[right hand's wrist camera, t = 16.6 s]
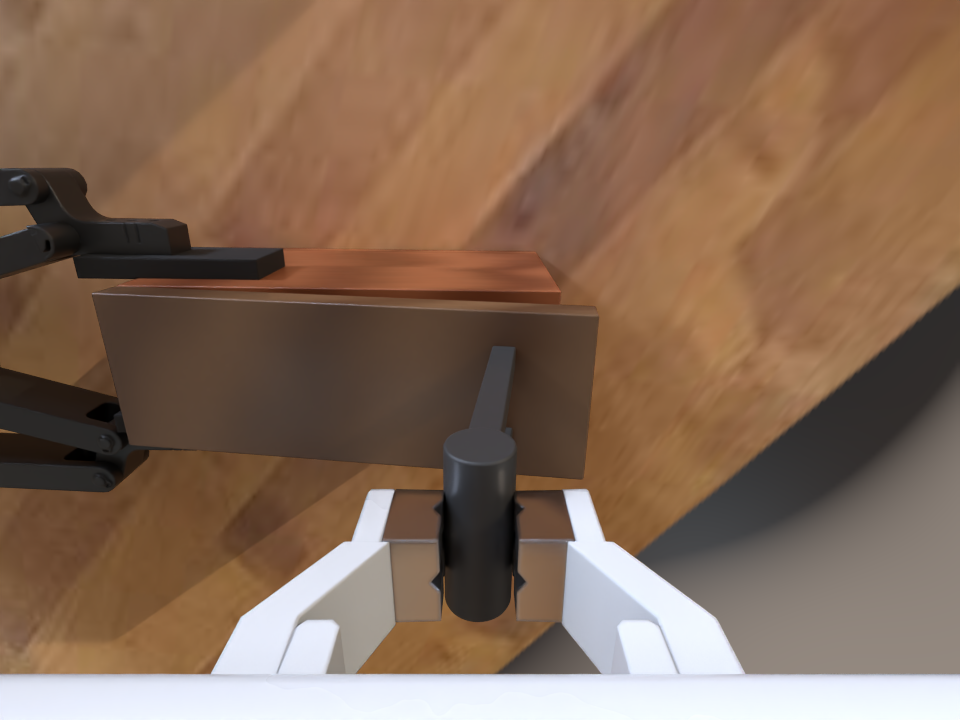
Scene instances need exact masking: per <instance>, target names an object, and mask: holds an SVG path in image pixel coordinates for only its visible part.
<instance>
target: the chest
mask: <svg viewBox="0 0 960 720" xmlns="http://www.w3.org/2000/svg"><path fill="white" fill-rule="evenodd" d="M231 248H232V247H231ZM283 251H284V260H285V267H283V268H281V269H279V270H277V271H275V272H273V273H272V274H270V275H268V276H266V277H264V278H262V279H260V280H218V279H143V278H138V279H135V280H132V281H129V282H126V283H123V284H120V285H117V286H125V287H149V288H172V289H196V290H220V291H244V292H268V293H292V294H315V295H339V296H363V297H387V298H411V299H435V300H458V301H482V302H506V303H530V304H554V305H560V301H561V291H560V289H559V288H558V286H557V285H556V283H555V281H554V280H553V278H552V277H551V275H550V274H549V272H548V270H547V269H546V267H545V266H544V264H543V263H542V261H541V259H540V258H539V256H538V255H537V253H536V252H529V251H455V250H381V249H306V248H283Z"/></svg>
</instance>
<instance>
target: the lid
mask: <svg viewBox="0 0 960 720" xmlns="http://www.w3.org/2000/svg"><path fill="white" fill-rule="evenodd" d="M92 297H93V301H94V305H95V309H96V313H97V317H98V321H99V325H100V329H101V333H102V337H103V341H104V345H105V349H106V353H107V357H108V361H109V365H110V369H111V373H112V377H113V380H114V384H115V388H116V392H117V396H118V400H119V404H120V408H121V412H122V416H123V420H124V424H125V428H126V432H127V436H128V440H129V444H130V445H137V446H150V447H163V448H176V449H189V450H202V451H216V452H229V453H242V454H255V455H268V456H281V457H294V458H307V459H320V460H333V461H347V462H360V463H373V464H386V465H399V466H412V467H425V468H438V469H443V483H444V508H445V524H444V535H445V547H446V570H445V600H446V603H447V605H448V607H449V608H450V610H451V611H452V612H453V613H454V614H455V615H457V616H458V617H460V618H462V619H464V620H467V621H472V622H484V621H489V620H492V619H494V618H496V617H498V616H500V615H501V614H502V613H503V612H504V611H505V610H506V608H507V607H508V605H509V603H510V599H511V581H512V539H513V533H514V528H513V505H514V492H515V489H516V474H517V475H530V476H543V477H556V478H569V479H583V478H584V469H585V458H586V448H587V437H588V427H589V417H590V406H591V396H592V386H593V375H594V365H595V355H596V344H597V334H598V324H599V315H598V312H597V309H596V307H595V306H578V305H554V304H530V303H506V302H482V301H458V300H435V299H411V298H387V297H363V296H339V295H315V294H292V293H268V292H244V291H220V290H196V289H172V288H149V287H125V286H116V287H112V288H109V289H105V290H101V291H98V292H94V293H92Z"/></svg>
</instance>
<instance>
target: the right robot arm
mask: <svg viewBox="0 0 960 720" xmlns="http://www.w3.org/2000/svg"><path fill="white" fill-rule="evenodd" d="M444 524H445V508H444V490H408V489H396V490H395V489H371V490H370V491H369V492H368V494H367V497H366V500H365V503H364V506H363V509H362V512H361V515H360V518H359V521H358V523H357V526H356V529H355V532H354V535H353V538H352V541H351V542H343V543H342V544H340V545H339V546H338V547H336V548H335V549H333V550H332V551H331V552H329V553H328V554H327V555H325V556H324V557H323V558H321V559H320V560H318V561H317V562H316V563H314V564H313V565H312V566H310V567H309V568H308V569H306V570H305V571H303V572H302V573H301V574H299V575H298V576H297V577H295V578H294V579H293V580H291V581H290V582H288V583H287V584H286V585H284V586H283V587H282V588H280V589H279V590H277V591H276V592H275V593H273V594H272V595H271V596H269V597H268V598H267V599H265V600H264V601H262V602H261V603H260V604H258V605H257V606H256V607H254V608H253V609H252V610H250V611H249V612H247V613H246V614H245V615H243V616H242V617H241V618H240V620H239V622H238V624H237V626H236V627H235V629H234V631H233V633H232V635H231V637H230V639H229V641H228V642H227V644H226V646H225V648H224V650H223V652H222V654H221V656H220V658H219V659H218V661H217V663H216V665H215V667H214V669H213V671H212V673H211V674H0V720H960V674H745V672H744V670H743V668H742V667H741V665H740V663H739V661H738V659H737V657H736V655H735V653H734V651H733V649H732V647H731V645H730V643H729V642H728V640H727V638H726V636H725V634H724V632H723V630H722V628H721V626H720V624H719V622H718V620H717V618H716V617H714V616H713V615H711V614H710V613H709V612H707V611H706V610H705V609H703V608H702V607H701V606H699V605H698V604H697V603H695V602H694V601H693V600H691V599H690V598H689V597H687V596H686V595H684V594H683V593H682V592H680V591H679V590H678V589H676V588H675V587H674V586H672V585H671V584H670V583H668V582H667V581H666V580H664V579H663V578H661V577H660V576H659V575H657V574H656V573H655V572H653V571H652V570H651V569H649V568H648V567H647V566H645V565H644V564H643V563H641V562H640V561H639V560H637V559H636V558H635V557H633V556H632V555H630V554H629V553H628V552H626V551H625V550H624V549H622V548H621V547H620V546H618V545H617V544H616V543H614V542H606V540H605V537H604V534H603V531H602V528H601V526H600V523H599V520H598V517H597V514H596V511H595V508H594V505H593V502H592V499H591V496H590V493H589V491H588V490H587V489H566V490H539V491H515V492H514V505H513V528H514V533H513V539H512V574H513V576H514V599H515V610H516V621H537V622H562V625H563V626H564V628H565V629H566V630H567V631H568V633H569V634H570V635H571V636H572V638H573V639H574V640H575V641H576V643H577V644H578V645H579V646H580V647H581V649H582V650H583V651H584V652H585V654H586V655H587V656H588V657H589V659H590V660H591V661H592V662H593V664H594V665H595V666H596V667H597V669H598V670H599V671H600V672H601V674H356V673H357V672H358V670H359V669H360V668H361V667H362V665H363V664H364V663H365V662H366V661H367V659H368V658H369V657H370V656H371V654H372V653H373V652H374V651H375V649H376V648H377V647H378V646H379V645H380V643H381V642H382V641H383V640H384V638H385V637H386V636H387V635H388V634H389V632H390V631H391V630H392V629H393V627H394V626H395V622H419V621H441V616H442V605H443V594H444V588H443V577H444V576H445V570H446V547H445V535H444Z"/></svg>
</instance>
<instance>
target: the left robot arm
mask: <svg viewBox="0 0 960 720" xmlns="http://www.w3.org/2000/svg"><path fill="white" fill-rule="evenodd" d="M86 193H87V184H86V181H85V179H84V177H83V176H82V175H81V174H80V173H79V172H77V171H76V170H74V169H70V168H5V169H0V206H14V205H26V207H27V209H28V210H29V212H30V213H31V215H32V217H33V218H34V220H35V221H36V223H37V225H30V226H26V227H27V228H28V229H24V230H21V231H18V232H15V233H11V234H8V235H5V236H2V237H0V279H1V278H5V277H8V276H11V275H15V274H18V273H21V272H25V271H28V270H31V269H35V268H38V267H42V266H45V265H48V264H52V263H55V262H58V261H62V260H65V259H68V258H72V257H73V260H74V264H75V268H76V272H77V276H78V278H99V279H138V278H143V279H218V280H260V279H262V278H264V277H266V276H268V275H270V274H272V273H273V272H275V271H277V270H279V269H281V268H283V267H285V260H284V251H283V248H217V247H191V245H190V239H189V234H188V228H187V224H184V223H182V222H179V221H177V220H174V219H135V218H107V217H105V216H102V215H100V214H99V213H97V212H96V211H95V210H94V209H93V208H92V207H91V205H90V204H89V202H88V200H87V199H86V197H85V195H86ZM78 255H81V256H78ZM75 256H76V257H75ZM0 429H4V430H8V431H12V432H16V433H20V434H15V433H0V487H4V488H25V489H46V490H67V491H88V492H109V491H111V490H112V489H114V488H115V487H116V486H117V485H118V484H119V483H120V482H122V481H123V480H124V479H125V478H126V477H127V476H128V475H130V474H131V473H132V472H133V471H134V470H135V469H136V468H138V467H139V466H140V465H141V464H142V463H143V462H144V461H145V460H147V458H148V457H149V450H189V449H176V448H163V447H150V446H137V445H130V444H129V440H128V436H127V432H126V428H125V424H124V420H123V416H122V412H121V408H120V404H119V400H118V398H117V397H113V396H109V395H105V394H101V393H98V392H94V391H90V390H86V389H82V388H78V387H74V386H71V385H67V384H63V383H59V382H55V381H51V380H47V379H43V378H40V377H36V376H32V375H28V374H24V373H20V372H16V371H13V370H9V369H5V368H2V367H0Z"/></svg>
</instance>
